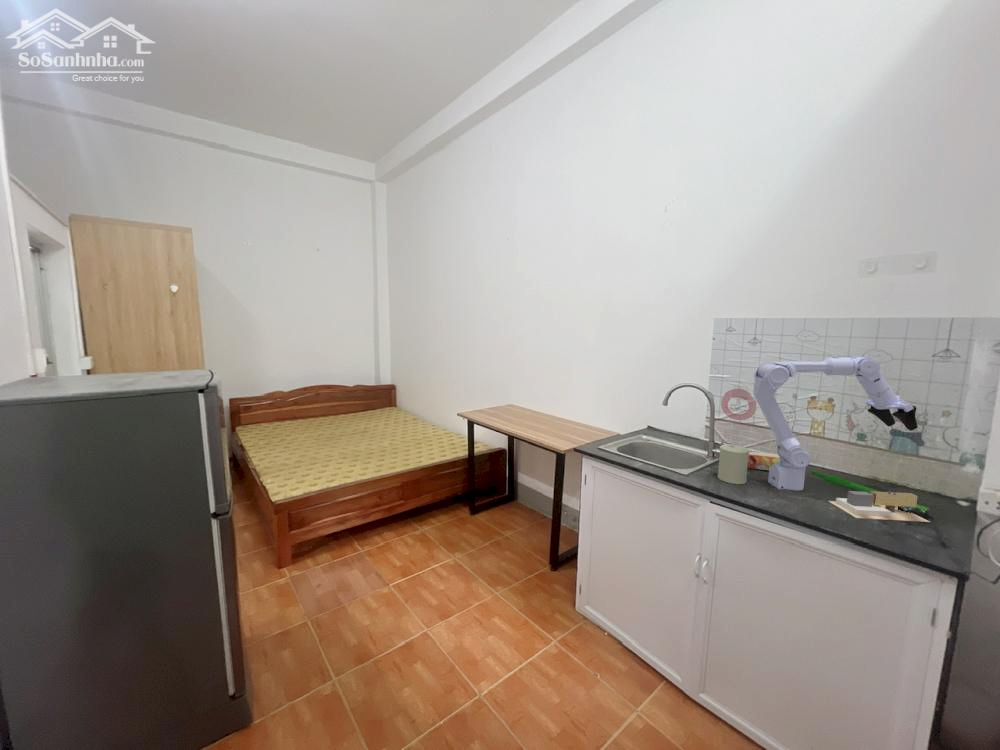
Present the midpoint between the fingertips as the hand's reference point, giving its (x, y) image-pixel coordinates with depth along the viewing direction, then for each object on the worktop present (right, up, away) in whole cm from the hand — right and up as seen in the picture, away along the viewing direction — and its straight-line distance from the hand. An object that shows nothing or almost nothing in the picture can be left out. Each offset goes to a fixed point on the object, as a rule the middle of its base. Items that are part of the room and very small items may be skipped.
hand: (902, 426), depth 123 cm
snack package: (-26, -21, +31) cm, 45 cm away
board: (-16, -25, -8) cm, 31 cm away
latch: (-12, -22, -8) cm, 26 cm away
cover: (-20, -24, -7) cm, 31 cm away
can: (-43, -22, +19) cm, 52 cm away
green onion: (-7, -24, +6) cm, 26 cm away
